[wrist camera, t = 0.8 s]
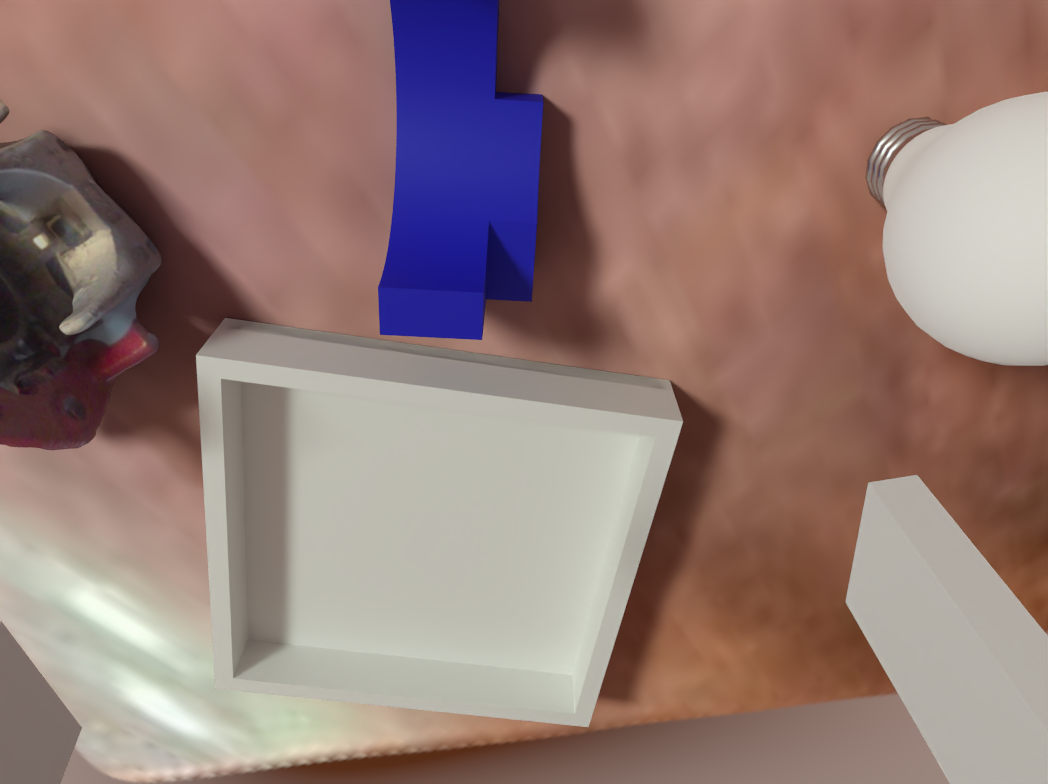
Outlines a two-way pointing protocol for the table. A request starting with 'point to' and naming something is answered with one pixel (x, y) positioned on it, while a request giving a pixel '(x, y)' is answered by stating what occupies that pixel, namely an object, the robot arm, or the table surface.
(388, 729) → the table surface
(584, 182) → the table surface
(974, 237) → the light bulb
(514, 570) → the kit tray
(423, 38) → the blue curved block
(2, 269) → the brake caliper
